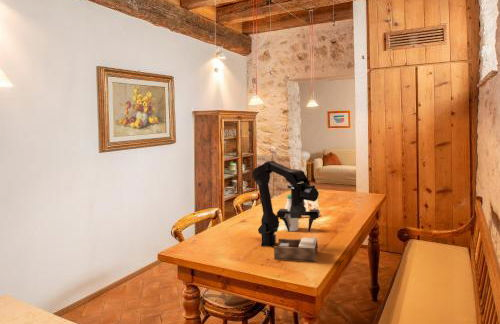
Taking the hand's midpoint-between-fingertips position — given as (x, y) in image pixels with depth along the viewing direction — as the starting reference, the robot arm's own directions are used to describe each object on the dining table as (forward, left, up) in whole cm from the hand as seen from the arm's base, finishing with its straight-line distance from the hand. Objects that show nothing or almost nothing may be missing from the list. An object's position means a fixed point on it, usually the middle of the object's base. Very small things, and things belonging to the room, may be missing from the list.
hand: (299, 231), depth 170 cm
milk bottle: (-10, +39, -12) cm, 42 cm away
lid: (+4, 0, -5) cm, 7 cm away
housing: (-2, 0, -12) cm, 12 cm away
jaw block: (-7, 0, -11) cm, 13 cm away
